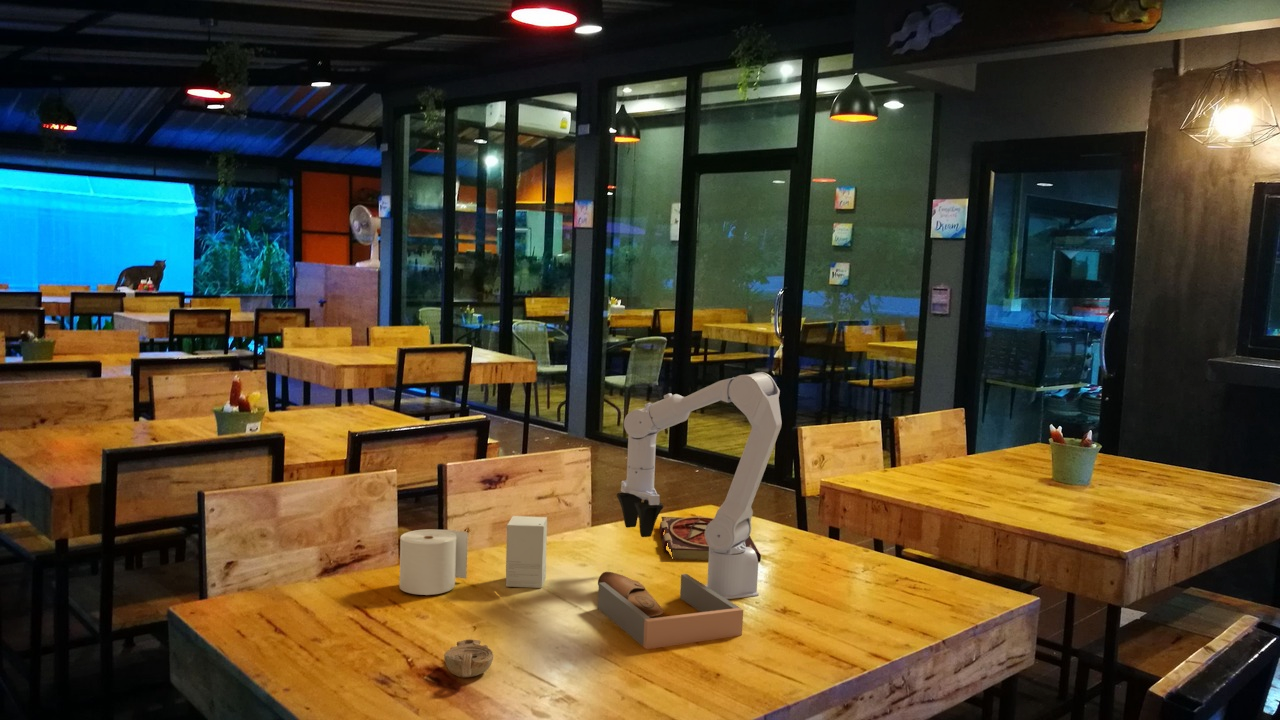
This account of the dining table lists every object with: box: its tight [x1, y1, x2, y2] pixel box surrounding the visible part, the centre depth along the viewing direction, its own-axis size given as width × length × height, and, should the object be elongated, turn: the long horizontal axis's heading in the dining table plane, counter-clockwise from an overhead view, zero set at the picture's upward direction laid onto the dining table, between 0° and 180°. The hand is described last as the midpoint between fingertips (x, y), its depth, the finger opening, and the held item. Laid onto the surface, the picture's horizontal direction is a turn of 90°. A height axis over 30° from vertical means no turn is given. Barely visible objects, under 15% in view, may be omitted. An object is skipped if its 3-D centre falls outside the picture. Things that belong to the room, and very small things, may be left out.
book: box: [659, 516, 762, 563], centre depth 227 cm, size 28×21×5 cm
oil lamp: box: [443, 638, 494, 679], centre depth 149 cm, size 13×8×5 cm, turn 5°
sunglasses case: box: [597, 571, 665, 618], centre depth 182 cm, size 18×7×7 cm
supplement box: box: [505, 515, 548, 589], centre depth 193 cm, size 7×7×13 cm
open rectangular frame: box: [597, 573, 744, 650], centre depth 174 cm, size 18×21×5 cm
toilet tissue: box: [398, 528, 469, 596], centre depth 188 cm, size 11×12×10 cm
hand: (638, 531), depth 200 cm, fingers open, 7 cm apart
